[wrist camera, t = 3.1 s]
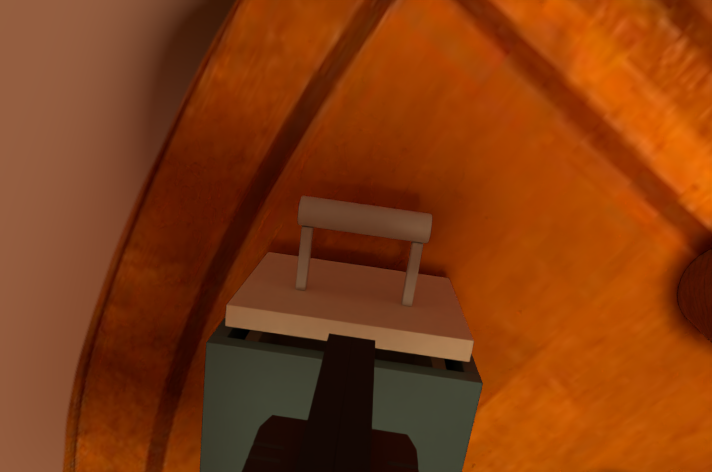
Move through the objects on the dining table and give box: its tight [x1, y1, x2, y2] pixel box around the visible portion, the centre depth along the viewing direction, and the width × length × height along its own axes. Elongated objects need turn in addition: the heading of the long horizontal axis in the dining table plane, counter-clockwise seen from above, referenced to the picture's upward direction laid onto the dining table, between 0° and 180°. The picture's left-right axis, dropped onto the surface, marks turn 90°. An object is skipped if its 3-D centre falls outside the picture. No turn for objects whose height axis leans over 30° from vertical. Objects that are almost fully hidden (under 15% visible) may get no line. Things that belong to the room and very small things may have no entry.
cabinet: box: [200, 317, 483, 472], centre depth 30 cm, size 17×14×11 cm
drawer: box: [225, 196, 474, 370], centre depth 29 cm, size 21×12×9 cm, turn 172°
